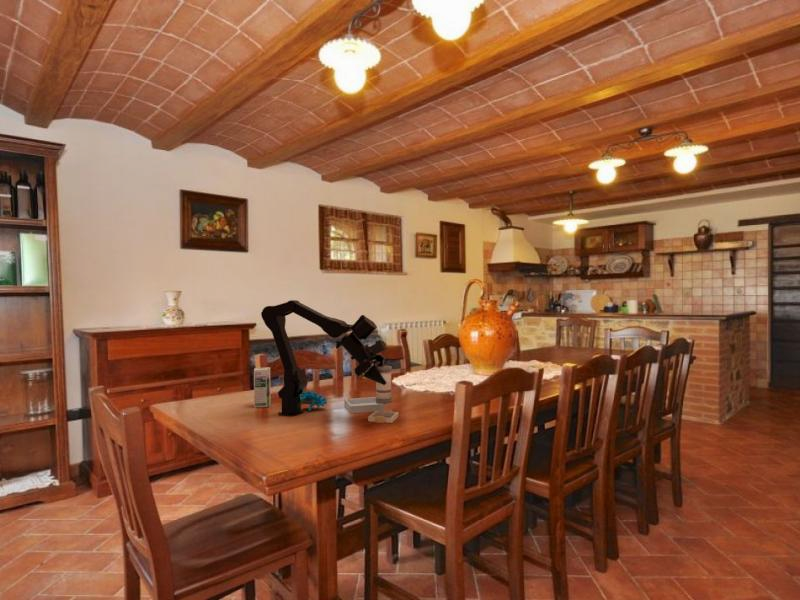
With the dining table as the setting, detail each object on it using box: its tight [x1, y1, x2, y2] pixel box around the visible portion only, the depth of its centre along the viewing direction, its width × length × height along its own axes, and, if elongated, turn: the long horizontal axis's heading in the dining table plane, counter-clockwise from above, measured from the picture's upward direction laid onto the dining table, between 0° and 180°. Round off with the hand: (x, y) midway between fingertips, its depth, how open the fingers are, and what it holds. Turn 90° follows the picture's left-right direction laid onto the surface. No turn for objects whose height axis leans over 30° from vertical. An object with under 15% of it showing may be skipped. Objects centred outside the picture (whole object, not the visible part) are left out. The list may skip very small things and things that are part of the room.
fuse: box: [375, 364, 393, 405], centre depth 158 cm, size 5×5×12 cm
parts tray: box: [343, 396, 386, 414], centre depth 174 cm, size 13×13×2 cm
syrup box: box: [253, 366, 271, 409], centre depth 179 cm, size 6×6×14 cm
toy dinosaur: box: [300, 390, 328, 412], centre depth 171 cm, size 11×6×10 cm
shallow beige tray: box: [367, 409, 399, 424], centre depth 158 cm, size 8×10×2 cm
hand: (387, 382), depth 158 cm, fingers closed on fuse, 5 cm apart
